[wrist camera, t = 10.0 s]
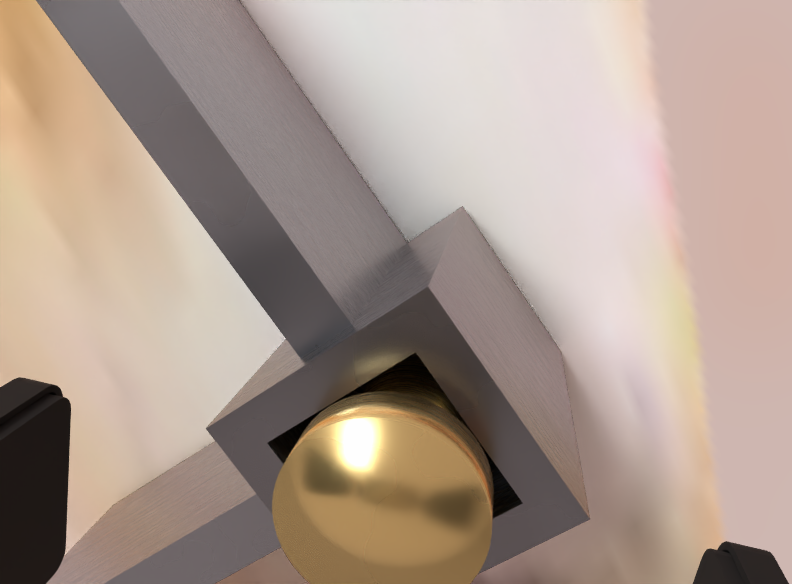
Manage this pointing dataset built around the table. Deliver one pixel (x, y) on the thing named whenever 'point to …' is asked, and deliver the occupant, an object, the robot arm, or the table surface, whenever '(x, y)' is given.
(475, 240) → the hinge bracket
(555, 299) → the table surface
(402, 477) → the hinge pin
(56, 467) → the robot arm
